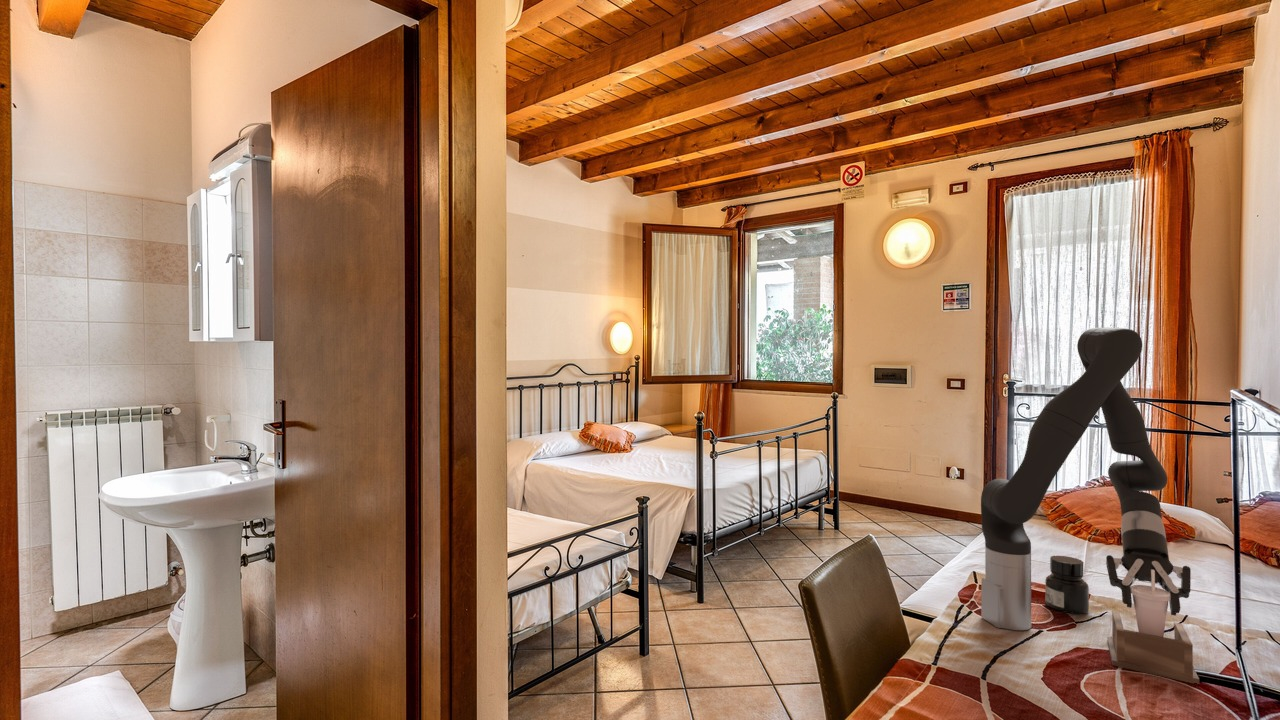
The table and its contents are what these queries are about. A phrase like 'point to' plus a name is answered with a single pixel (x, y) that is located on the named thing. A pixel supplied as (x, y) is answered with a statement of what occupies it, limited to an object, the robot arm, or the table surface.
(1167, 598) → the smoothie
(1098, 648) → the table surface
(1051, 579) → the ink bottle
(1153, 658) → the bottle stand
